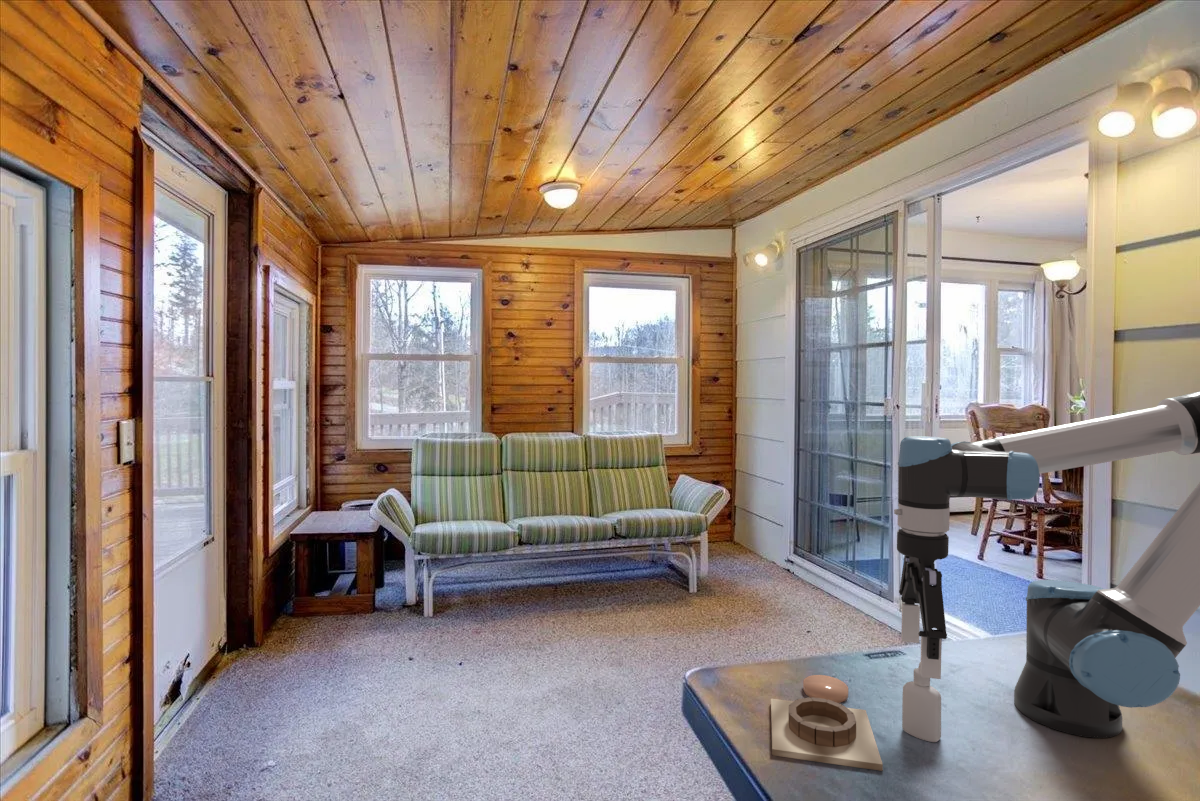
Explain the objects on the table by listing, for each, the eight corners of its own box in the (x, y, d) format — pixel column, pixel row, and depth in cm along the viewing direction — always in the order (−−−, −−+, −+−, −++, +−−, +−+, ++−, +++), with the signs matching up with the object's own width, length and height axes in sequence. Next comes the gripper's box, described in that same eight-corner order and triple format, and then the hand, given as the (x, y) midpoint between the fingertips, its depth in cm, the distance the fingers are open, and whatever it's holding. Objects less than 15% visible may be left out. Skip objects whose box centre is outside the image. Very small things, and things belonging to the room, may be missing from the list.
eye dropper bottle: (919, 723, 106) (920, 654, 105) (945, 742, 100) (946, 668, 100) (898, 727, 104) (898, 657, 104) (923, 746, 99) (923, 672, 99)
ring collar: (865, 715, 108) (865, 695, 108) (882, 770, 93) (882, 748, 93) (770, 704, 112) (771, 685, 112) (772, 755, 97) (772, 733, 97)
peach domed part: (844, 685, 120) (844, 677, 119) (851, 707, 112) (852, 698, 112) (801, 680, 121) (801, 673, 121) (805, 702, 113) (805, 693, 113)
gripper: (883, 513, 114) (881, 626, 115) (915, 548, 90) (912, 691, 91) (928, 516, 112) (925, 631, 113) (973, 552, 88) (969, 698, 89)
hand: (919, 658), depth 102 cm, fingers open, 13 cm apart
